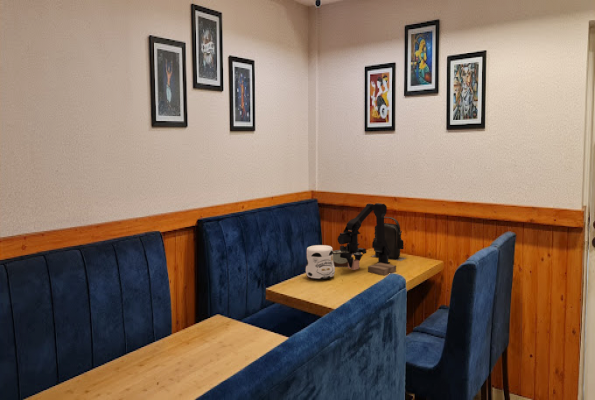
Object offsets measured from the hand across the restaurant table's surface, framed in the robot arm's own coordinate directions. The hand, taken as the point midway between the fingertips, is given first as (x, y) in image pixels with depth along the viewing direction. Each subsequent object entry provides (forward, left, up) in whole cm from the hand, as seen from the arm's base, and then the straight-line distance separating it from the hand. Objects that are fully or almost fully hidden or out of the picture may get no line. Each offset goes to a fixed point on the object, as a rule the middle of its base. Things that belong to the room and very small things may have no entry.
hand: (353, 266), depth 288 cm
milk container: (+23, -6, -3) cm, 24 cm away
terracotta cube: (0, 0, -1) cm, 1 cm away
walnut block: (-10, +14, -3) cm, 17 cm away
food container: (-4, -14, -3) cm, 15 cm away
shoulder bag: (-41, -4, -3) cm, 41 cm away
